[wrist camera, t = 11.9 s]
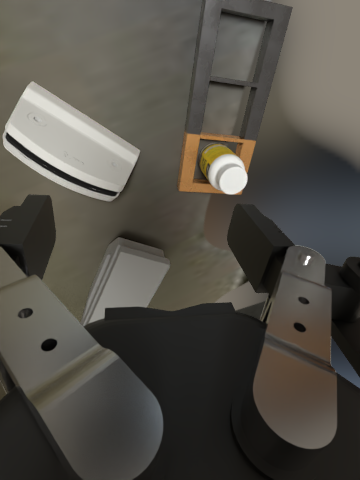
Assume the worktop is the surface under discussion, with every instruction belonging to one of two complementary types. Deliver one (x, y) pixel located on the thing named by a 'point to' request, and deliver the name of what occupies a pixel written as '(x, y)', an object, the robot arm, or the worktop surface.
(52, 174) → the white rounded device
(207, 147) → the supplement bottle
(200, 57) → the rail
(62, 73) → the worktop surface
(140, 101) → the worktop surface
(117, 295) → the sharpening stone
